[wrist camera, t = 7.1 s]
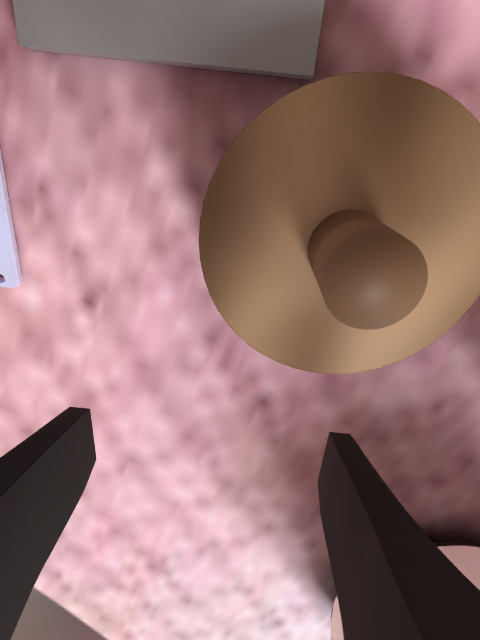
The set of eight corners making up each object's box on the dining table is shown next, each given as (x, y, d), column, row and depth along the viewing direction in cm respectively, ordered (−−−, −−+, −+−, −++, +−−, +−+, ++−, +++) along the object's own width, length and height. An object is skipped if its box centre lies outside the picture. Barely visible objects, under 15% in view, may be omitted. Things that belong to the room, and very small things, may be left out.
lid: (202, 356, 18) (183, 424, 13) (200, 70, 13) (168, 31, 8) (446, 372, 17) (507, 447, 13) (543, 82, 12) (695, 47, 8)
